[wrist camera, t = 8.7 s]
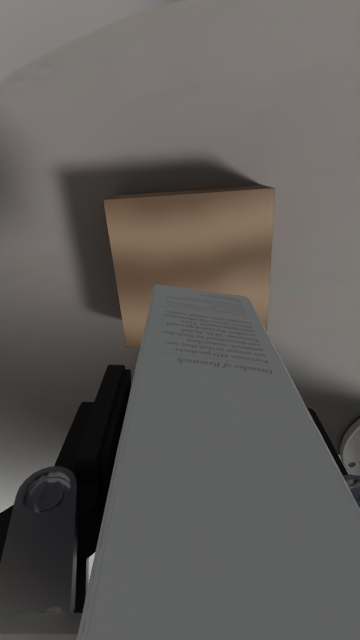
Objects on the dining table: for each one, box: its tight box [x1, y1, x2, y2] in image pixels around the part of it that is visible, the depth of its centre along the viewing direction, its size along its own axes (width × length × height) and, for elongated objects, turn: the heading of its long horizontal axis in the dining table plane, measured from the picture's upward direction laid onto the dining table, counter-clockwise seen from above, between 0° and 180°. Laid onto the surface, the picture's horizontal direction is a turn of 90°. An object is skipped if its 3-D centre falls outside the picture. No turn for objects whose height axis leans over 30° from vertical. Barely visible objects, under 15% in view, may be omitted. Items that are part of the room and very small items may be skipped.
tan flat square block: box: [103, 185, 275, 347], centre depth 27 cm, size 12×12×5 cm
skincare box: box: [77, 284, 360, 640], centre depth 9 cm, size 6×4×12 cm
